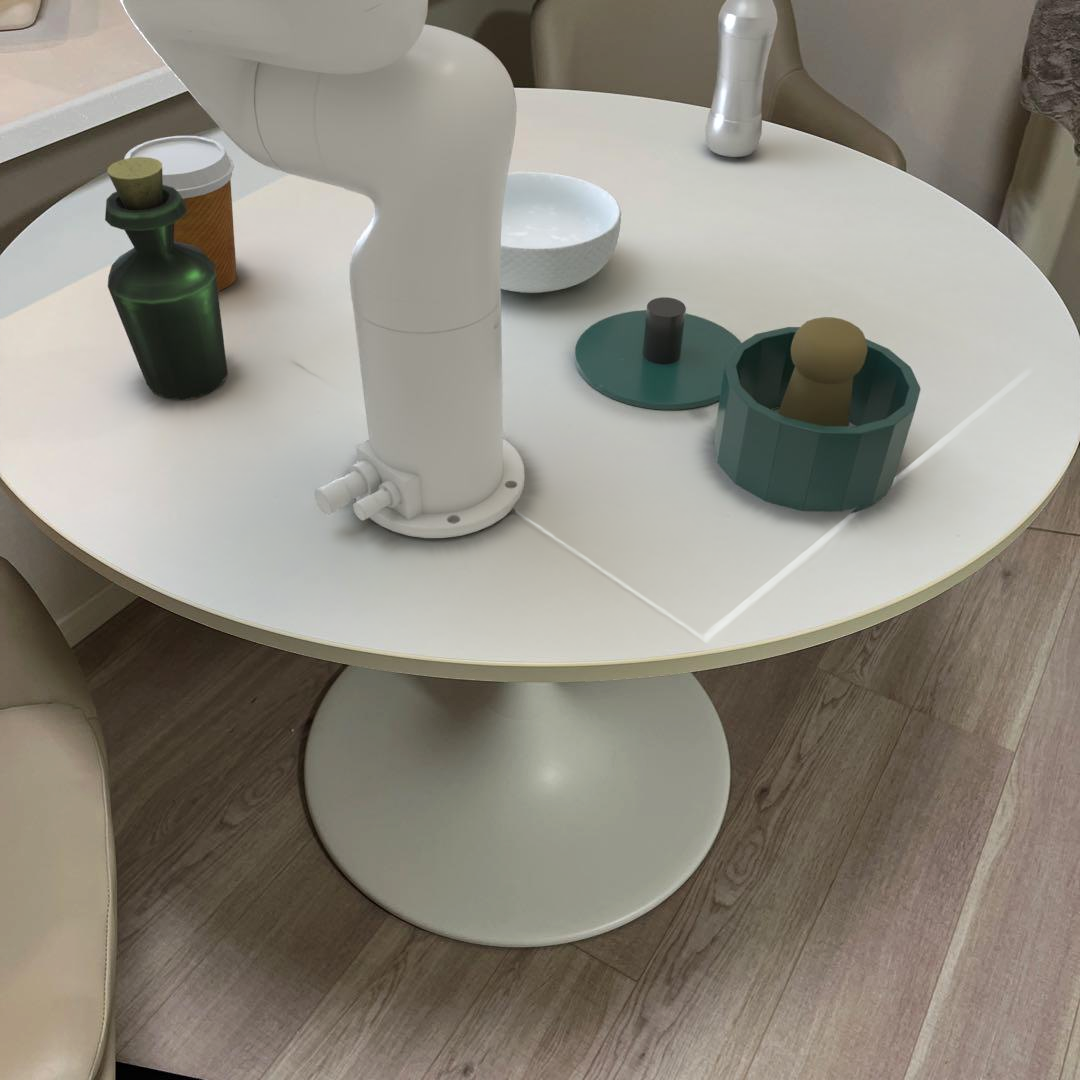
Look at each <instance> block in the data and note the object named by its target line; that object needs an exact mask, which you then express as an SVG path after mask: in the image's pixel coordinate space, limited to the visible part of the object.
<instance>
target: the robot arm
mask: <svg viewBox="0 0 1080 1080" xmlns="http://www.w3.org/2000/svg"><path fill="white" fill-rule="evenodd" d="M119 2H120V4H121V5H122V7H123V8H124V11H125V12H126V14H127V16H128V17H129V19H130V20H131V22H132V23H133V25H134V26H135V28H136V29H137V31H138V32H139V33H140V35H141V36H142V37H143V38H144V39H145V41H146V42H147V43H148V44H149V45H150V47H151V48H152V50H153V51H154V52H155V53H156V54H157V55H158V57H159V58H160V59H161V60H162V61H163V63H164V64H165V65H166V66H167V67H168V69H169V70H170V71H171V72H172V73H173V74H174V76H175V77H176V78H177V79H178V80H179V82H180V83H181V84H182V86H184V88H185V89H186V90H187V91H188V92H189V93H190V95H191V96H192V97H193V98H194V99H195V100H196V102H197V104H199V105H200V107H201V108H202V109H203V110H204V111H205V112H206V113H207V114H208V116H209V117H210V118H211V119H212V120H213V121H214V123H215V124H216V125H217V126H218V127H219V128H220V130H221V131H222V132H223V133H224V134H225V135H226V137H228V139H229V140H230V141H231V142H232V143H233V144H234V145H235V146H237V147H238V149H240V150H241V151H242V152H244V153H245V154H246V155H247V156H248V157H250V158H251V159H253V160H254V161H256V162H258V163H259V164H261V165H263V166H265V167H268V168H270V169H272V170H276V171H278V172H282V173H285V174H288V175H291V176H295V177H299V178H303V179H307V180H311V181H314V182H319V183H322V184H327V185H331V186H333V187H334V186H335V187H338V188H342V189H344V190H347V191H349V192H353V193H356V194H360V195H362V196H364V197H367V198H369V200H371V202H372V204H373V208H374V213H373V216H372V219H371V221H370V222H369V223H368V225H367V227H366V228H365V230H364V231H363V232H362V234H361V235H360V236H359V238H358V239H357V241H356V243H355V245H354V247H353V250H352V253H351V257H350V262H349V272H348V273H349V275H348V276H349V288H350V296H351V297H350V299H351V303H352V309H353V317H354V326H355V334H356V342H357V352H358V359H359V368H360V377H361V384H362V392H363V401H364V410H365V418H366V427H367V435H368V440H365V441H364V442H362V443H360V444H358V445H357V446H356V454H357V460H356V462H355V463H354V464H352V465H351V466H350V467H349V468H348V474H346V475H343V476H342V477H340V478H335V479H333V480H331V481H330V482H328V483H326V484H324V485H322V486H320V487H318V488H316V489H314V492H313V495H314V500H315V502H316V505H317V506H318V508H319V509H320V510H321V512H323V513H324V514H325V515H328V516H329V515H331V514H333V513H335V512H337V511H339V510H340V509H342V508H343V507H346V506H347V505H349V504H350V503H352V501H353V500H355V502H354V503H352V509H353V512H354V514H355V515H356V517H357V518H358V519H359V520H361V521H365V520H367V519H370V520H371V521H372V522H374V523H376V524H377V525H378V526H380V527H383V528H384V529H386V530H388V531H389V530H390V531H392V532H394V533H397V534H401V535H404V536H409V537H414V538H421V539H423V538H424V539H445V538H447V539H448V538H455V537H461V536H465V535H469V534H472V533H476V532H479V531H481V530H484V529H486V528H488V527H490V526H493V525H494V524H495V523H497V522H499V521H500V520H502V519H504V518H505V517H506V516H507V515H508V514H510V512H511V511H512V510H514V506H515V504H516V503H517V502H518V500H519V499H520V497H521V496H522V493H523V491H524V488H525V478H526V474H525V464H524V462H523V459H522V457H521V454H520V453H519V452H518V451H517V449H516V448H515V446H514V445H513V444H511V443H510V442H509V441H508V440H507V439H505V438H504V419H503V418H504V412H503V411H504V410H503V409H504V407H503V406H504V405H503V404H504V403H503V342H502V340H503V338H502V331H503V330H502V289H501V230H502V214H503V205H504V196H505V189H506V182H507V176H508V173H509V171H510V170H509V169H510V166H511V165H510V164H511V158H512V152H513V147H514V143H515V134H516V127H517V111H518V110H517V109H518V107H517V96H516V92H515V87H514V84H513V81H512V78H511V76H510V74H509V73H508V70H507V69H506V67H505V66H504V64H503V63H502V62H501V60H500V59H499V58H498V57H497V56H496V55H495V54H494V53H493V52H492V51H491V50H490V49H488V48H487V47H486V46H484V45H483V44H481V43H480V42H478V41H476V40H474V39H473V38H471V37H468V36H466V35H463V34H461V33H458V32H456V31H453V30H450V29H446V28H443V27H439V26H435V25H431V24H426V20H427V18H428V17H427V16H428V9H429V8H428V7H429V0H119Z"/></svg>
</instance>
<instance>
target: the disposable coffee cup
mask: <svg viewBox="0 0 1080 1080" xmlns="http://www.w3.org/2000/svg"><path fill="white" fill-rule="evenodd" d="M136 157H148V158H153V159H157V160H159V161H160V162H161V163H162V177H163V185H166V186H169V187H173V188H174V189H175V190H177V191H178V192H179V194H180V195H181V197H182V199H183V200H184V202H185V204H186V205H187V212H186V213H185V215H184V216H183V217H182V218H181V219H180V220H178V221H176V222H174V241H175V242H179V243H184V244H187V245H190V246H193V247H196V248H199V249H200V250H201V251H202V252H203V253H204V254H205V255H206V256H207V257H208V258H209V259H210V260H211V261H212V262H213V263H214V265H215V271H216V279H217V288H218V292H219V291H221V290H224V289H226V288H227V287H229V286H231V285H232V284H233V283H234V282H235V281H236V279H237V276H238V275H237V259H236V245H235V231H234V230H235V228H234V212H233V197H232V183H231V182H232V181H231V179H232V176H233V171H234V168H235V167H234V166H235V165H234V161H233V159H232V158H231V156H229V155H228V153H227V150H226V149H225V146H224V145H223V144H221V143H220V142H218V141H217V140H215V139H212V138H210V137H205V136H198V135H174V136H167V137H165V136H164V137H160V138H155V139H152V140H147V141H145V142H143V143H141V144H138V145H136V146H133V148H131V149H130V150H129V151H127V153H126V154H125V156H124V159H128V158H136ZM124 159H123V160H124Z"/></svg>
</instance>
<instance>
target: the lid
mask: <svg viewBox="0 0 1080 1080" xmlns="http://www.w3.org/2000/svg"><path fill="white" fill-rule="evenodd" d="M686 312H687V307H686V305H685V303H684V302H682V300H679V299H676V298H673V297H668V296H667V297H666V296H662V297H656V298H653V299H651V300H649V301H648V303H647V304H646V309H644V310H643V309H642V310H632V311H626V312H621V313H618V314H614V315H611V316H608V317H605V318H602V319H600V320H599V321H597V322H595V323H593V324H592V325H590V326H589V327H587V329H585V330H584V331H583V332H582V334H581V335H580V336H579V338H578V339H577V341H576V345H575V348H574V363H575V367H576V369H577V371H578V373H579V375H580V376H581V377H582V379H583V380H584V381H585V382H586V383H587V384H588V385H589V386H591V387H592V388H593V389H594V390H596V391H597V392H599V393H601V394H602V395H604V396H606V397H608V398H610V399H612V400H615V401H618V402H620V403H623V404H627V405H629V406H633V407H634V406H635V407H638V408H642V409H643V408H644V409H652V410H661V411H662V410H663V411H679V410H688V409H696V408H701V407H705V406H708V405H712V404H715V403H717V402H719V401H720V394H721V388H722V381H723V375H724V368H725V364H726V362H727V361H728V359H729V357H730V355H731V353H732V351H733V349H734V348H735V347H736V346H737V345H739V344H740V343H742V342H741V341H740V339H739V338H738V337H737V336H736V335H734V334H733V333H732V332H731V331H729V330H728V329H726V328H725V327H724V326H722V325H720V324H718V323H716V322H715V321H711V320H709V319H707V318H704V317H700V316H698V315H693V314H689V313H686Z"/></svg>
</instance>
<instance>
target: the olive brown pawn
mask: <svg viewBox="0 0 1080 1080" xmlns="http://www.w3.org/2000/svg"><path fill="white" fill-rule="evenodd" d="M799 327H800V328H799V329H798V330H797V332H796V333H795V335H794V338H793V341H792V345H791V357H792V361H793V364H794V365H795V368H794V371H793V373H792V376H791V379H790V382H789V384H788V387H787V390H786V393H785V395H784V398H783V401H782V403H781V406H780V408H778V412H777V413H778V414H780V415H782V416H784V417H786V418H790V419H794V420H799V421H803V422H807V423H811V424H815V425H820V426H850V425H849V424H850V422H849V415H850V404H851V394H852V383H853V376H854V375H856V374H857V373H858V372H859V371H860V369H861V368H862V366H863V364H864V361H865V358H866V354H867V342H866V339H867V338H866V336H865V334H864V332H863V330H862V329H861V328H859V327H858V326H857V325H856V324H854V323H853V322H851V321H848V320H845V319H843V318H837V317H833V316H832V317H831V316H830V317H829V316H823V317H816V318H812V319H810V320H806V321H805V322H804V323H803V324H802V325H801V326H799Z"/></svg>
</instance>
